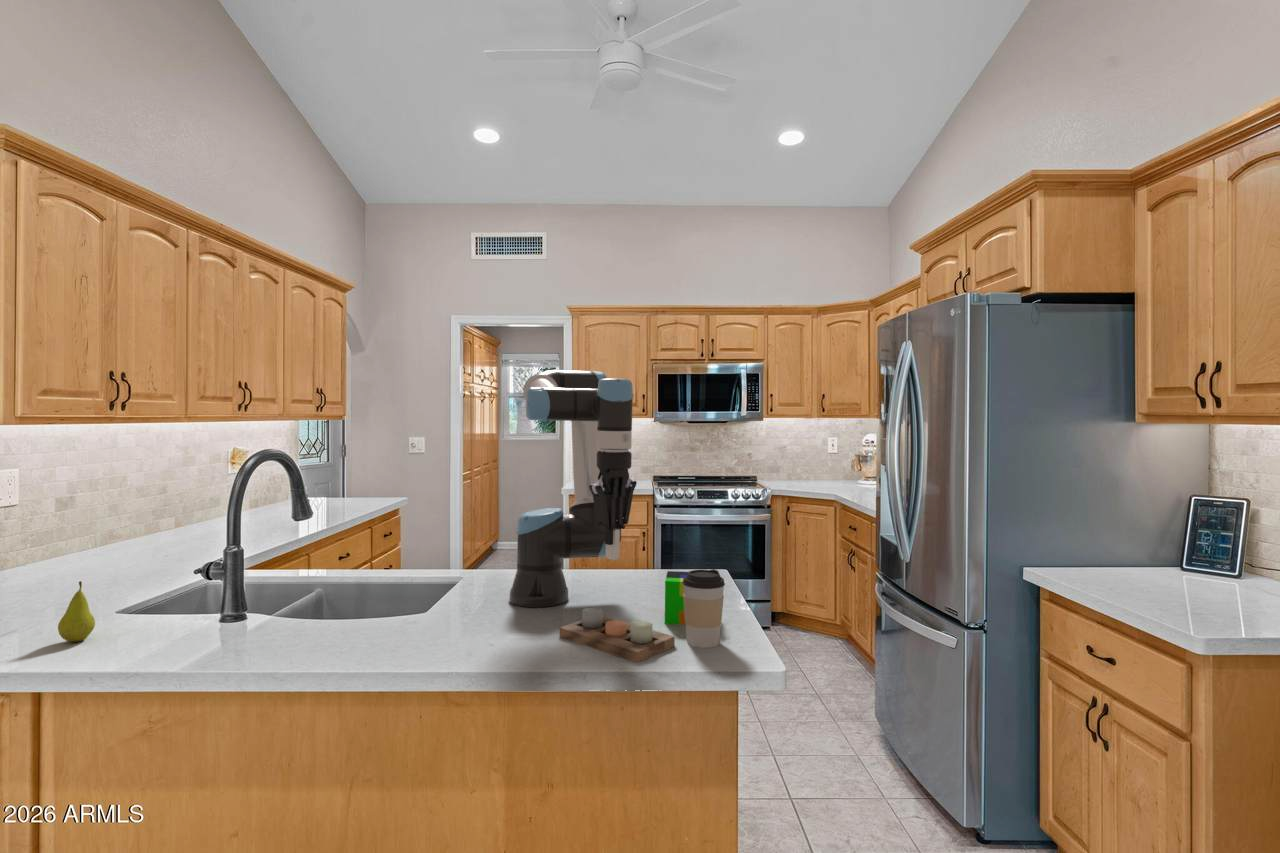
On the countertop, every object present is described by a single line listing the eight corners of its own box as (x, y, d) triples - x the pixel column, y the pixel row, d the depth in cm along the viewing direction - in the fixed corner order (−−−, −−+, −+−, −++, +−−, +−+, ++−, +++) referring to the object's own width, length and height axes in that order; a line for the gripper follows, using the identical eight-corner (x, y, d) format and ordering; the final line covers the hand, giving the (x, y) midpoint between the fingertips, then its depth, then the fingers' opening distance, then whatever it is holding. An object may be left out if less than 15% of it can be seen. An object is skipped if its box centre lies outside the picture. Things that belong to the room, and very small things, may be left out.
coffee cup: (696, 652, 127) (697, 578, 127) (673, 638, 135) (674, 569, 135) (732, 645, 131) (733, 573, 131) (708, 632, 139) (709, 565, 139)
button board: (559, 636, 136) (559, 627, 136) (597, 623, 145) (598, 614, 145) (637, 662, 121) (637, 652, 121) (674, 646, 131) (674, 636, 131)
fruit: (64, 648, 126) (65, 588, 126) (52, 643, 128) (53, 584, 128) (100, 639, 131) (100, 582, 131) (88, 634, 133) (88, 578, 133)
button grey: (577, 626, 137) (577, 610, 137) (592, 621, 141) (592, 606, 141) (592, 630, 134) (592, 615, 134) (606, 625, 138) (606, 610, 138)
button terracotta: (600, 639, 133) (601, 623, 133) (615, 634, 136) (615, 618, 136) (616, 644, 130) (616, 628, 130) (630, 639, 133) (631, 623, 133)
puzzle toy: (707, 613, 154) (708, 572, 154) (708, 626, 144) (708, 582, 144) (667, 611, 155) (667, 571, 155) (664, 624, 145) (665, 581, 145)
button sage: (625, 641, 128) (626, 624, 128) (640, 635, 132) (640, 619, 132) (642, 646, 125) (643, 629, 125) (656, 640, 129) (656, 624, 129)
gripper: (606, 452, 128) (604, 567, 129) (646, 450, 138) (644, 556, 139) (580, 450, 133) (578, 561, 134) (621, 448, 143) (619, 550, 144)
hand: (612, 558), depth 136 cm, fingers closed
